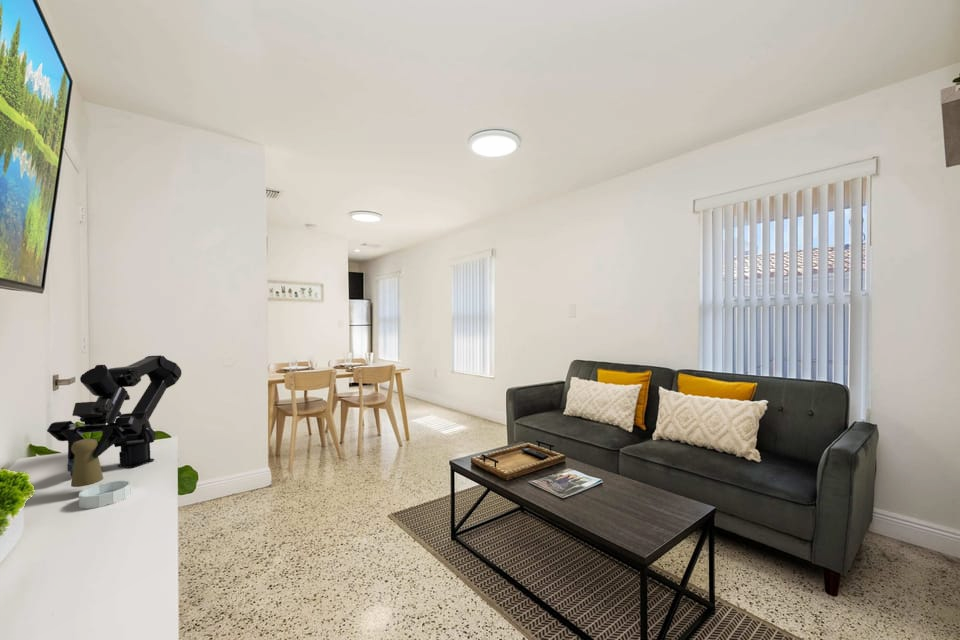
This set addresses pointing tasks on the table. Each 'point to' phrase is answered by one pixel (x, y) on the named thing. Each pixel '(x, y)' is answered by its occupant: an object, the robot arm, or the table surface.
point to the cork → (85, 463)
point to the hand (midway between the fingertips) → (82, 458)
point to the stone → (70, 466)
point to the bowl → (104, 494)
